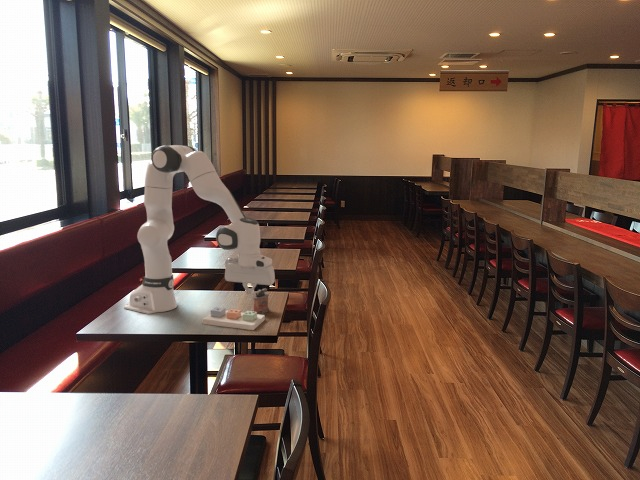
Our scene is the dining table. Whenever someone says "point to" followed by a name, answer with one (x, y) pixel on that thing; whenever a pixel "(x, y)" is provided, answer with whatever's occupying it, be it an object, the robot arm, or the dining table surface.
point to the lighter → (261, 301)
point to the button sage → (250, 316)
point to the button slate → (218, 312)
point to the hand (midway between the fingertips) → (249, 293)
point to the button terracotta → (233, 314)
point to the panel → (233, 322)
